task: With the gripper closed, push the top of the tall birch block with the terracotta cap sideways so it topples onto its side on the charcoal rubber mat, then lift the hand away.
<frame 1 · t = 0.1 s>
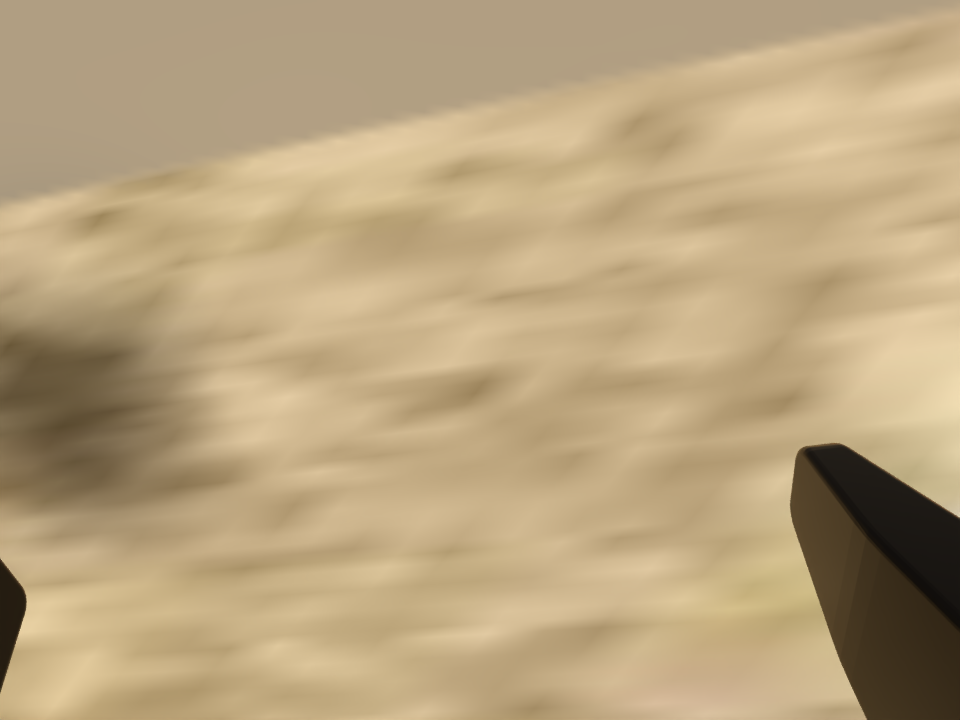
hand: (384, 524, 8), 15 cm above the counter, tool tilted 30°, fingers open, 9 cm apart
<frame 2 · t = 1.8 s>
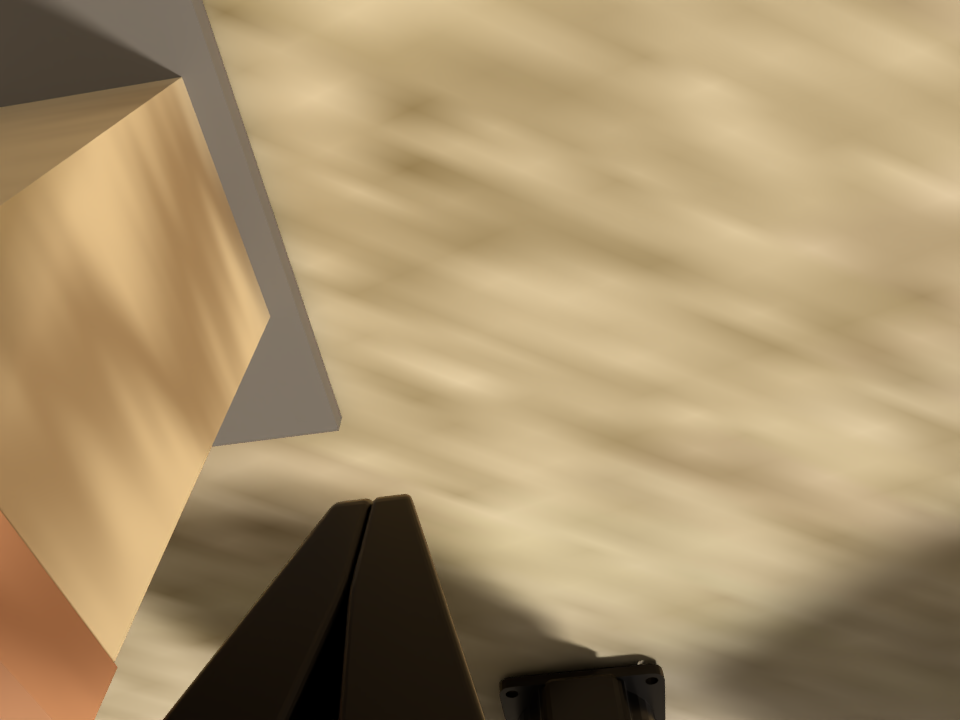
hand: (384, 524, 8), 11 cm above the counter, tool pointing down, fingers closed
birch block: (139, 222, 17), point 1 cm above the counter, touching rubber mat
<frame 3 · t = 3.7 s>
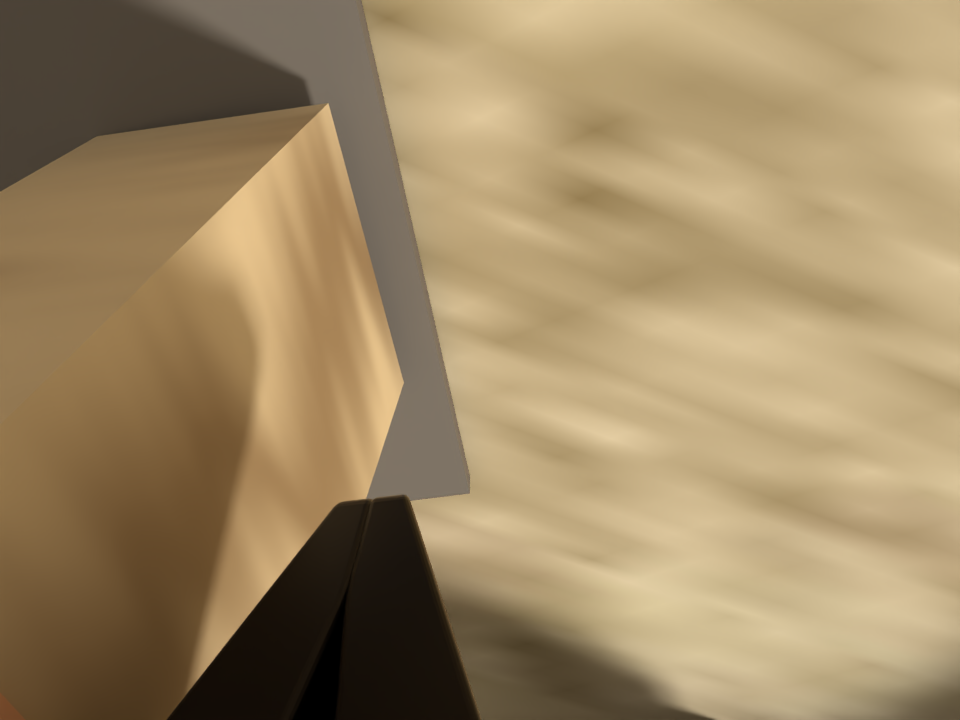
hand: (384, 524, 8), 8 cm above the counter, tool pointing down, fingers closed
birch block: (263, 270, 14), point 1 cm above the counter, tilted 7°, touching rubber mat
rubber mat: (8, 292, 16), on the counter
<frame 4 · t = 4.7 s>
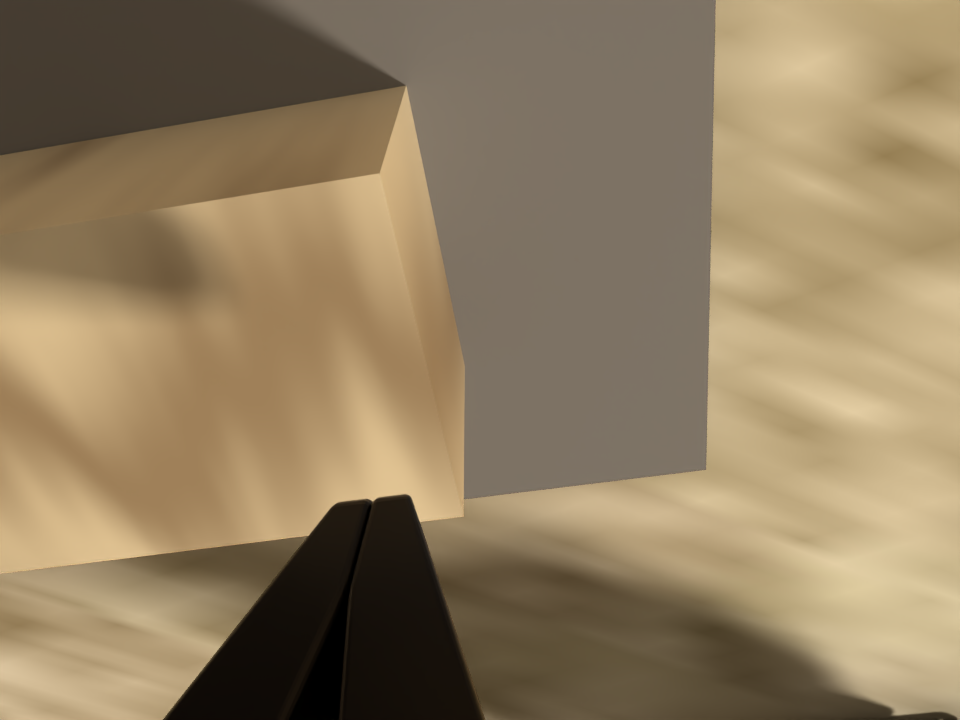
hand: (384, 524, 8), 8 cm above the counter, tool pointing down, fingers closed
birch block: (434, 297, 12), point 3 cm above the counter, tilted 90°, touching rubber mat
rubber mat: (265, 256, 15), on the counter
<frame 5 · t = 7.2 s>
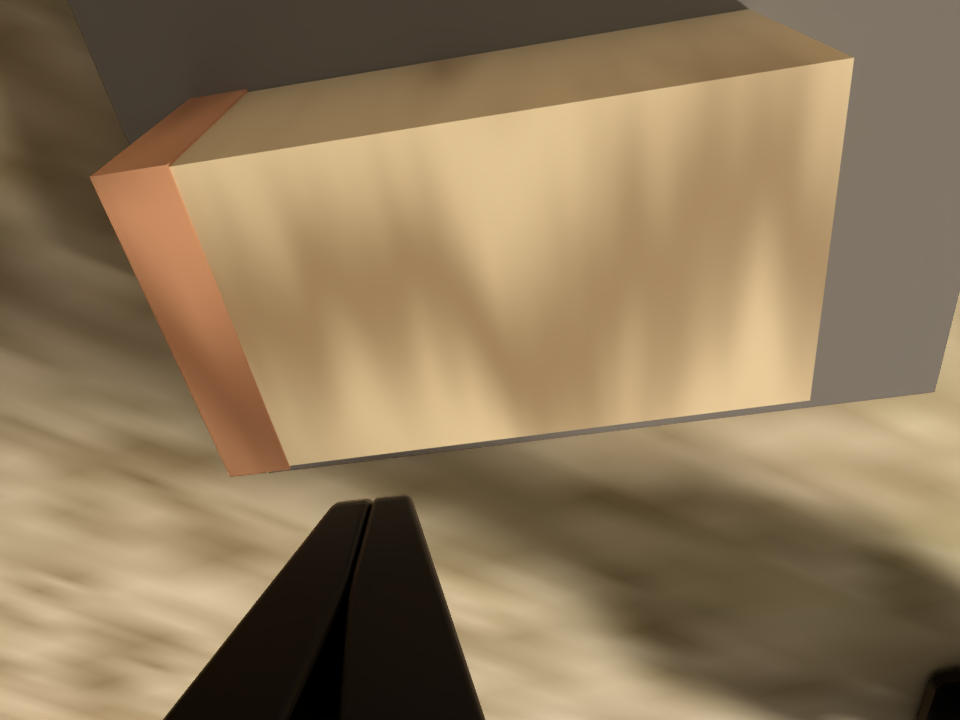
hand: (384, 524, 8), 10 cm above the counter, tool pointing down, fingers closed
birch block: (778, 201, 13), point 3 cm above the counter, tilted 90°, touching rubber mat
rubber mat: (565, 178, 16), on the counter
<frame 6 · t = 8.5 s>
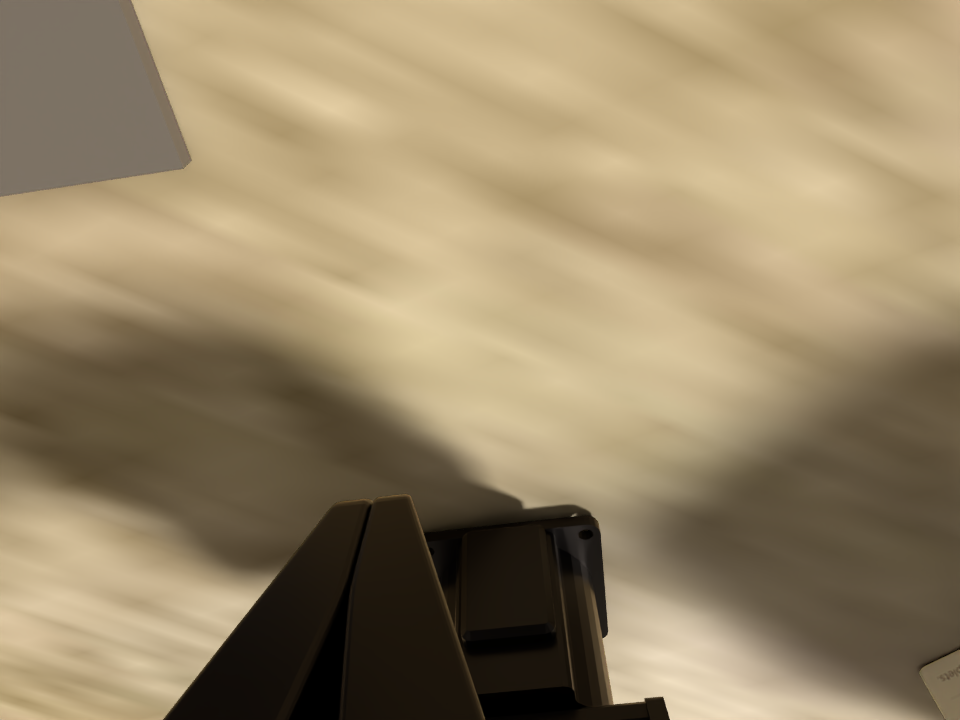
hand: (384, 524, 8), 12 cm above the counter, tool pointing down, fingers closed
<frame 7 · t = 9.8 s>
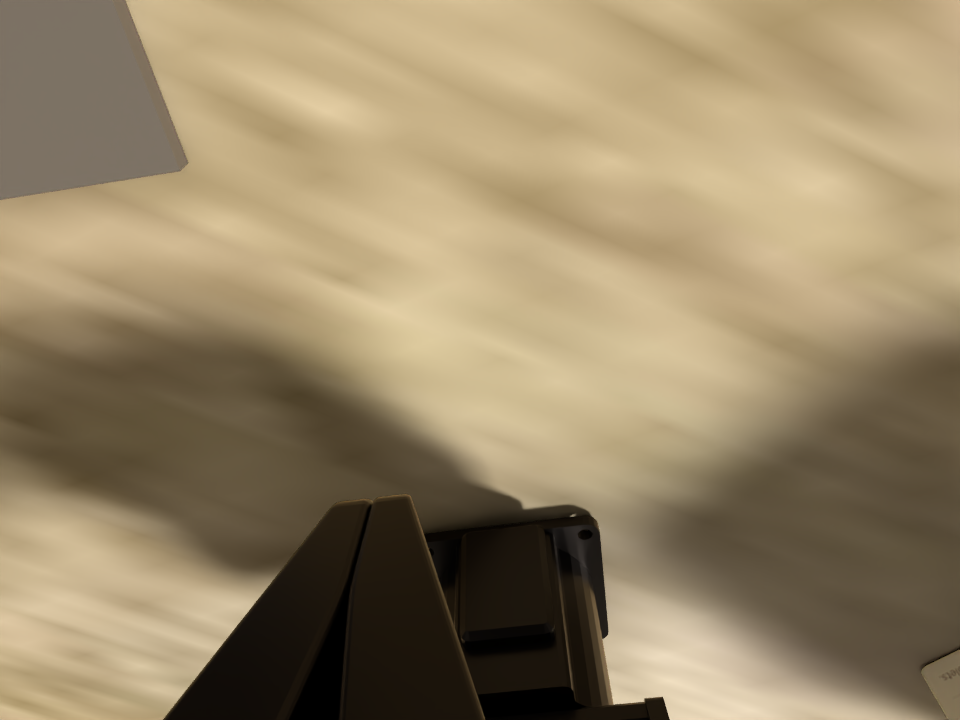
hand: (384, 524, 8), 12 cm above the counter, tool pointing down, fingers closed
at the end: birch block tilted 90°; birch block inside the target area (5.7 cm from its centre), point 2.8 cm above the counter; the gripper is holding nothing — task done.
